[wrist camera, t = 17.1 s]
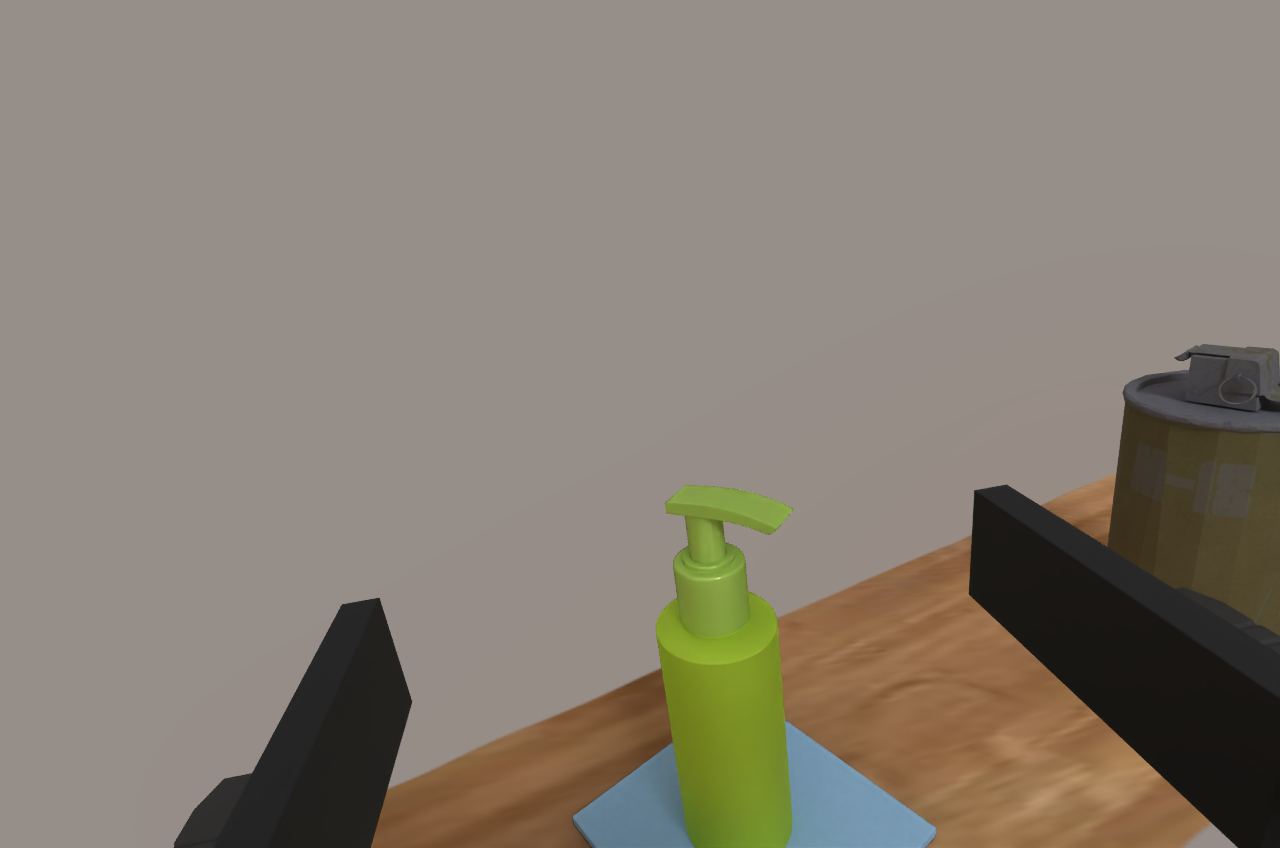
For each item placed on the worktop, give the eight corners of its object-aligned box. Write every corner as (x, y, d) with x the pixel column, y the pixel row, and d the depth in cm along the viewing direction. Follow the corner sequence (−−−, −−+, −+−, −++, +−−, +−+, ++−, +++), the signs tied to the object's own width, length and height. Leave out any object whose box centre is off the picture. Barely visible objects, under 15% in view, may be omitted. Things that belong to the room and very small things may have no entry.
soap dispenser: (786, 902, 31) (755, 542, 24) (665, 838, 35) (610, 513, 28) (826, 805, 35) (809, 478, 29) (715, 758, 39) (678, 460, 33)
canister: (1067, 625, 47) (1096, 360, 40) (1134, 569, 52) (1170, 325, 45) (1265, 712, 38) (1344, 391, 31) (1324, 635, 43) (1404, 343, 36)
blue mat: (573, 823, 37) (571, 816, 37) (743, 696, 45) (743, 689, 44) (749, 1056, 26) (748, 1047, 26) (936, 835, 34) (936, 827, 33)
